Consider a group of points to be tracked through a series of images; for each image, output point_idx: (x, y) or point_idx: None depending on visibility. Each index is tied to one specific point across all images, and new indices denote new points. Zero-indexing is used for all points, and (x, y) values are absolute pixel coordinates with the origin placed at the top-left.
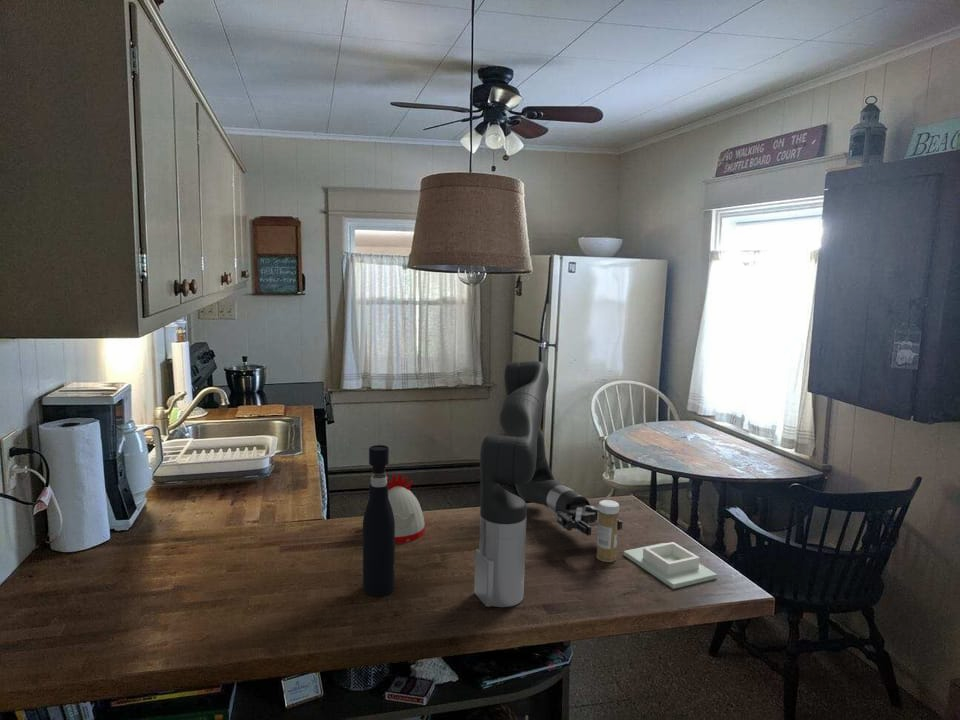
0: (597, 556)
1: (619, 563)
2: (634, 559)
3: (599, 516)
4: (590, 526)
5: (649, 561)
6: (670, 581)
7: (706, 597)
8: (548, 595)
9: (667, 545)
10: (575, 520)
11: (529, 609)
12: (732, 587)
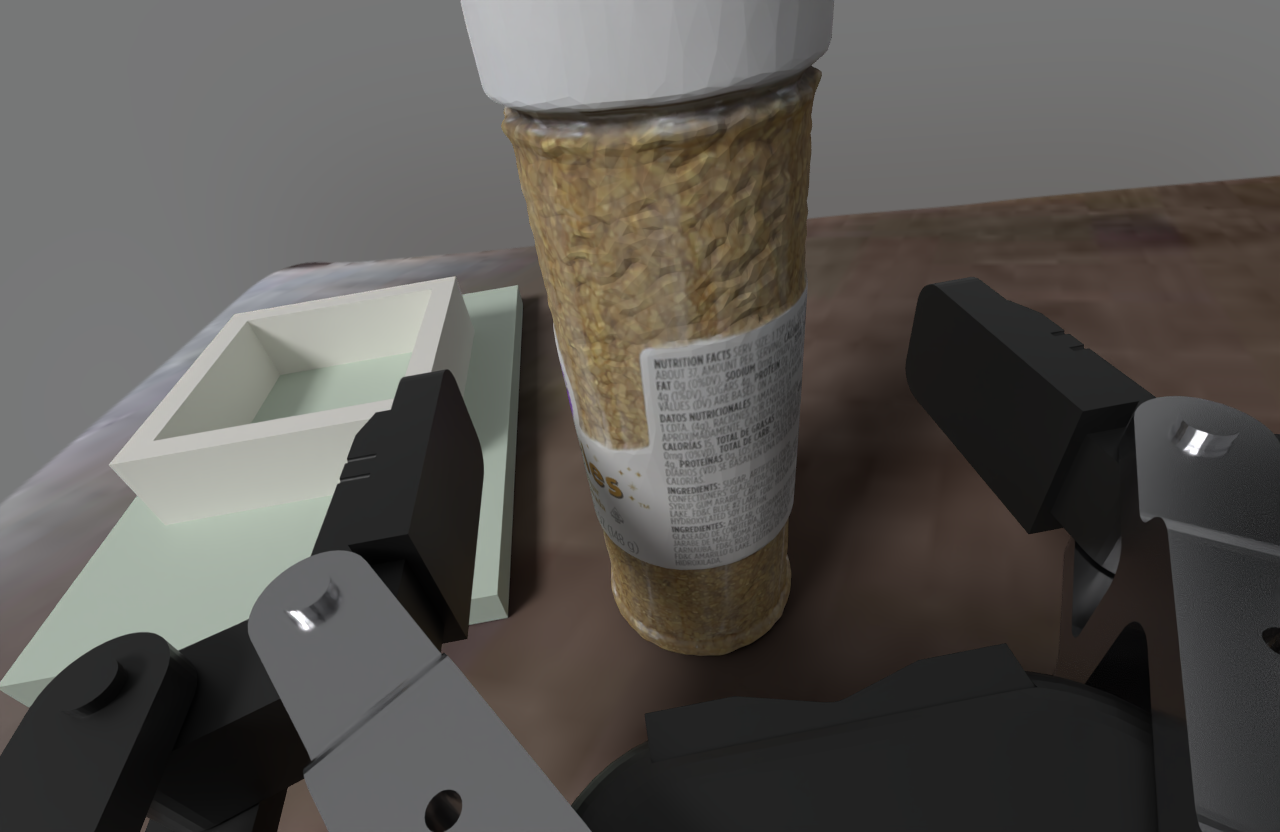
0: (787, 563)
1: None
2: (507, 488)
3: (808, 156)
4: (934, 285)
5: None
6: (511, 298)
7: (451, 272)
8: (1178, 282)
9: (210, 434)
10: (1256, 437)
11: (1254, 225)
12: None
